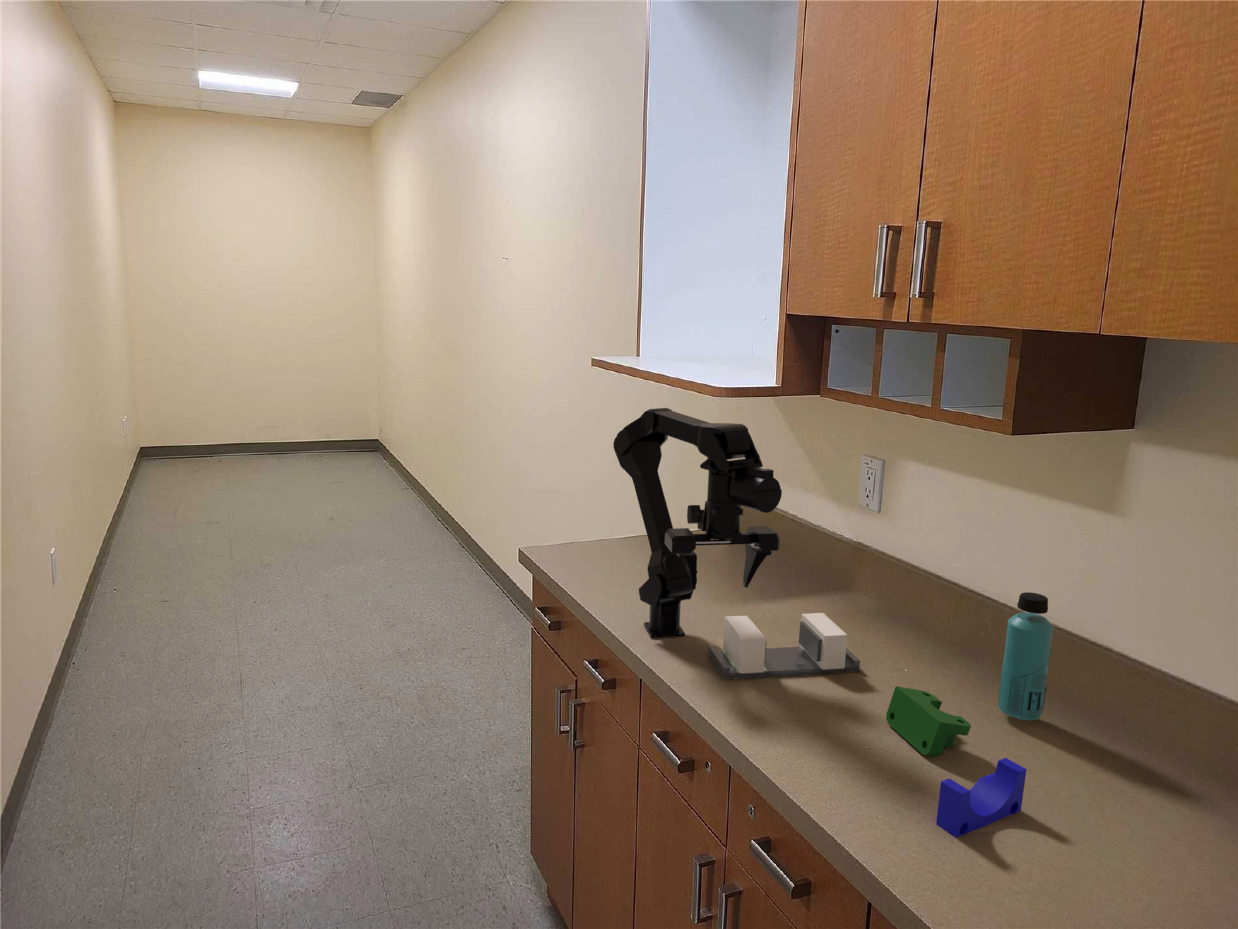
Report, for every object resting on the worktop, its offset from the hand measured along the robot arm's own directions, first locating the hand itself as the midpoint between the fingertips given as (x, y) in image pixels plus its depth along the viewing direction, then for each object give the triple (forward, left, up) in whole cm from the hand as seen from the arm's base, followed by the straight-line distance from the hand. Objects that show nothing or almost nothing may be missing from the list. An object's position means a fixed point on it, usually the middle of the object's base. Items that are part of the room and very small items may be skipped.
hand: (719, 587), depth 151 cm
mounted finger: (+3, +18, -12) cm, 22 cm away
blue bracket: (+49, +19, -13) cm, 54 cm away
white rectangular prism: (+3, +4, -12) cm, 13 cm away
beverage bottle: (+27, +40, -13) cm, 50 cm away
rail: (+3, +11, -13) cm, 17 cm away
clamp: (+30, +23, -13) cm, 40 cm away
